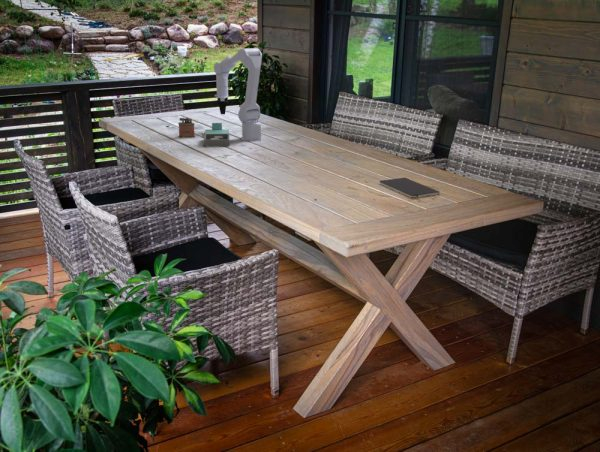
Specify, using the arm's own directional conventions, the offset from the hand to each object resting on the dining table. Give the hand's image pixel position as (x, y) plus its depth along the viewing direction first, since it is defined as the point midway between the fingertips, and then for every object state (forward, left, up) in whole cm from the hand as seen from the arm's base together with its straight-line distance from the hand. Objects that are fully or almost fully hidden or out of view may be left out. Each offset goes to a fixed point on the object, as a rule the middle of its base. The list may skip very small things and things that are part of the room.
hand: (222, 113), depth 332 cm
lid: (+3, +10, -9) cm, 13 cm away
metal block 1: (+4, +30, -9) cm, 32 cm away
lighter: (+18, +14, -10) cm, 25 cm away
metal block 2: (+2, +26, -9) cm, 27 cm away
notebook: (-70, +106, -11) cm, 128 cm away
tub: (+3, +28, -10) cm, 30 cm away
